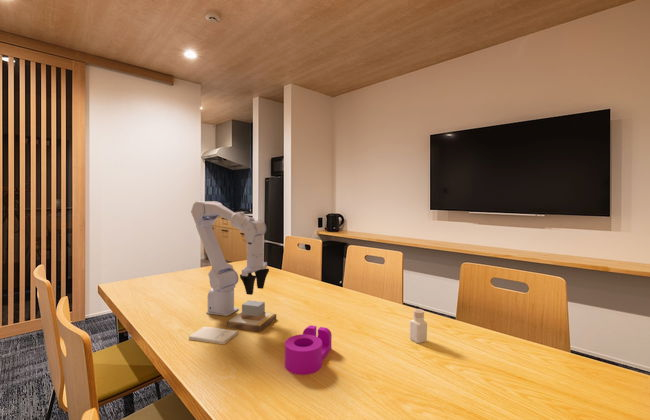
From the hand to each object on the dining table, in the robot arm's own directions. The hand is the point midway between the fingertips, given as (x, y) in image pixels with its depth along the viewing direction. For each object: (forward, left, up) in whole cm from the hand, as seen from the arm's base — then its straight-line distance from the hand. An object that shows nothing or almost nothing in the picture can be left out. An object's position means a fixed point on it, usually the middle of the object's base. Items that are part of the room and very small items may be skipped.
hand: (255, 291), depth 116 cm
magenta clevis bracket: (+28, -21, -11) cm, 36 cm away
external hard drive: (-6, -17, -11) cm, 21 cm away
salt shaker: (+57, +1, -11) cm, 58 cm away
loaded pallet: (+1, -3, -8) cm, 9 cm away
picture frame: (+1, -3, -10) cm, 11 cm away
